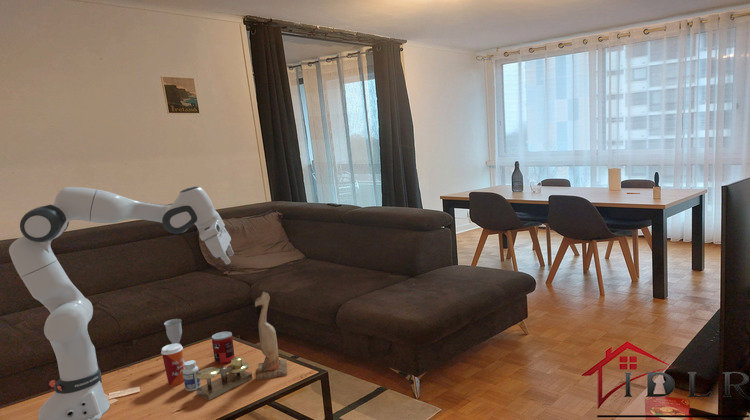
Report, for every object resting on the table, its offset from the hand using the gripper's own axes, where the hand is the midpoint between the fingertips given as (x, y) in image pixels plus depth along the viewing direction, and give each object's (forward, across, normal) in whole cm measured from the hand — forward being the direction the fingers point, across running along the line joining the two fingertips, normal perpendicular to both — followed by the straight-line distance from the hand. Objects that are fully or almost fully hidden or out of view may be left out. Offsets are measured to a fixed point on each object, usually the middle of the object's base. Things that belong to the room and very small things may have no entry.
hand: (230, 259), depth 180 cm
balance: (+39, +13, -21) cm, 46 cm away
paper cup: (+33, +3, -40) cm, 52 cm away
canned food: (+40, -11, -26) cm, 49 cm away
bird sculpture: (+46, +6, -6) cm, 46 cm away
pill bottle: (+35, +10, -33) cm, 49 cm away
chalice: (+34, -14, -43) cm, 57 cm away
